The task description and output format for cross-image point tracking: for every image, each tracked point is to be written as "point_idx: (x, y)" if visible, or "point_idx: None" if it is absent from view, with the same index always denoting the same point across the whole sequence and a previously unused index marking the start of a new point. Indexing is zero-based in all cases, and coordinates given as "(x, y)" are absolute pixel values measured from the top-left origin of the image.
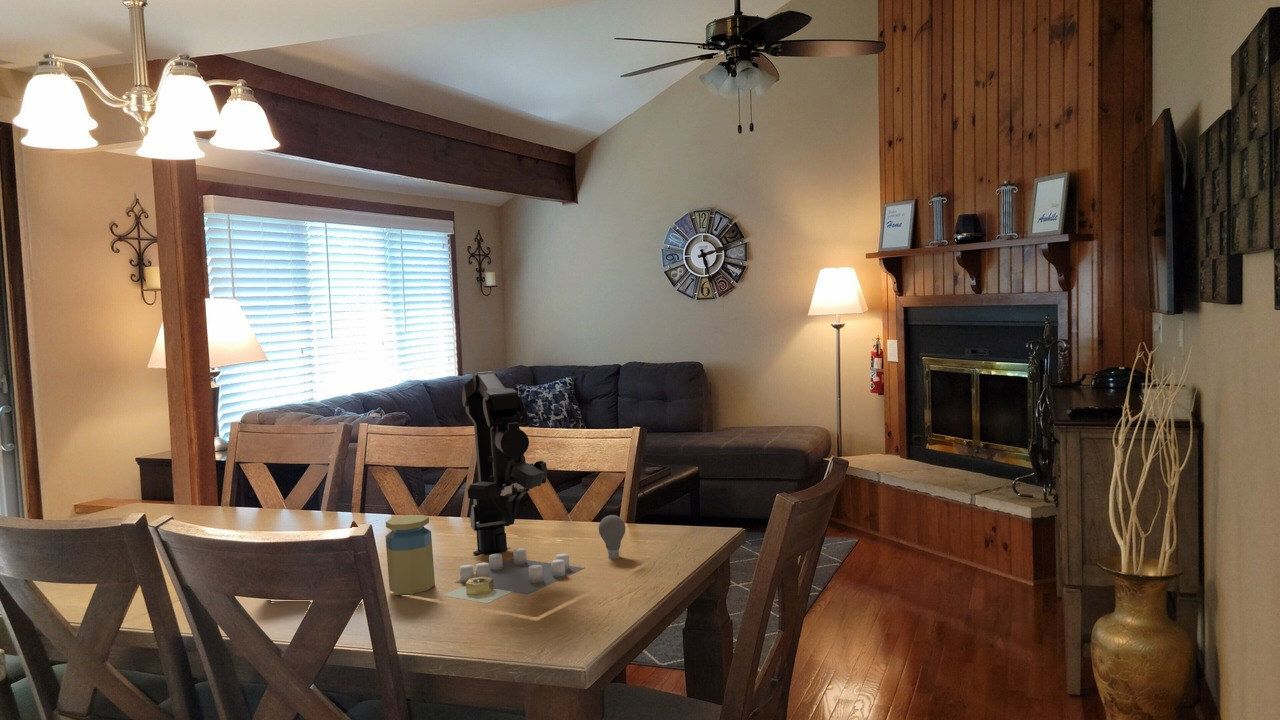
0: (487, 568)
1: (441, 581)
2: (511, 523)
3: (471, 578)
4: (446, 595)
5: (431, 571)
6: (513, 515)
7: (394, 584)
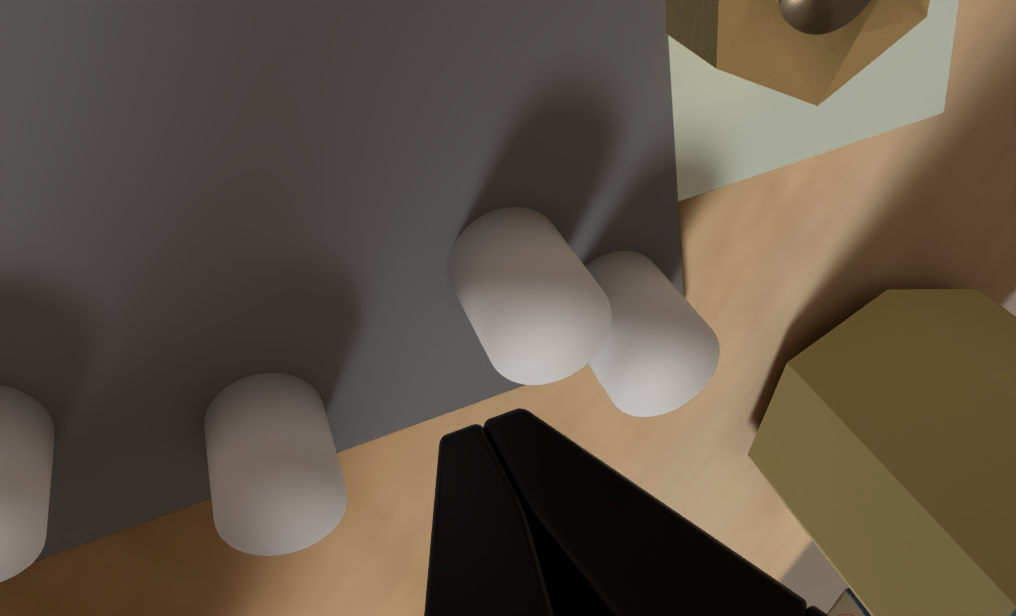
0: (531, 260)
1: (656, 444)
2: (528, 417)
3: (805, 101)
4: (937, 83)
5: (893, 404)
6: (531, 556)
7: None
